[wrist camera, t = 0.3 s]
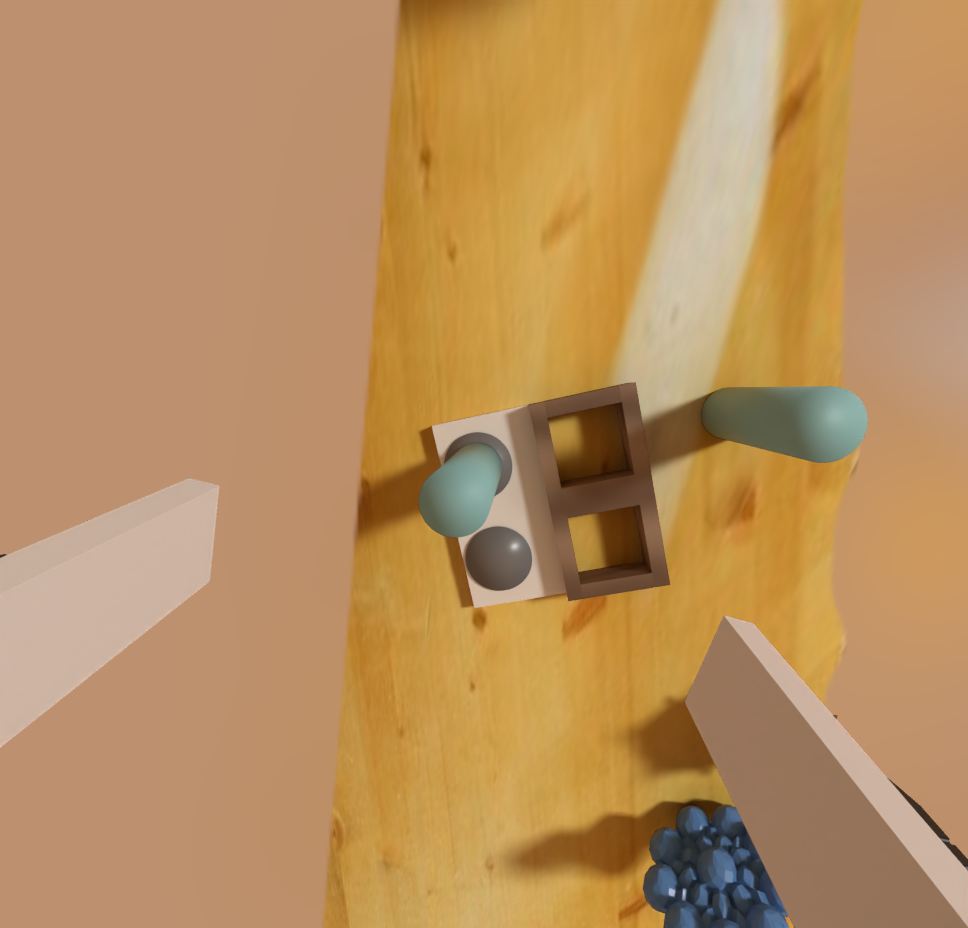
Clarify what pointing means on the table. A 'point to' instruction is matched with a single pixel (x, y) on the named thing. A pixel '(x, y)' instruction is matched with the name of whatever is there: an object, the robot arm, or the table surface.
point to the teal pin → (789, 420)
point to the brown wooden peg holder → (603, 495)
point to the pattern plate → (508, 512)
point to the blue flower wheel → (710, 874)
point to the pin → (461, 491)
